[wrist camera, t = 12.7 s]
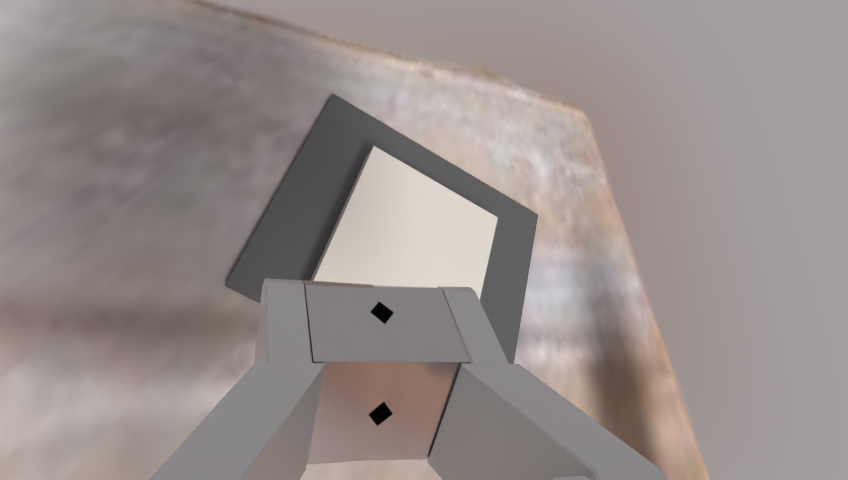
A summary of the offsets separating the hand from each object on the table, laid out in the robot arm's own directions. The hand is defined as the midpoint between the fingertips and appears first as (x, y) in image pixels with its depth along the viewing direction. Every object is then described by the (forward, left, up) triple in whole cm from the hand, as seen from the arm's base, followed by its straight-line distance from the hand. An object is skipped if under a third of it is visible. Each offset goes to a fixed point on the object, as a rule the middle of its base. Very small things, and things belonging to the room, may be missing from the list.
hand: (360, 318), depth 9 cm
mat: (+7, +22, -24) cm, 33 cm away
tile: (+7, +12, -22) cm, 26 cm away
